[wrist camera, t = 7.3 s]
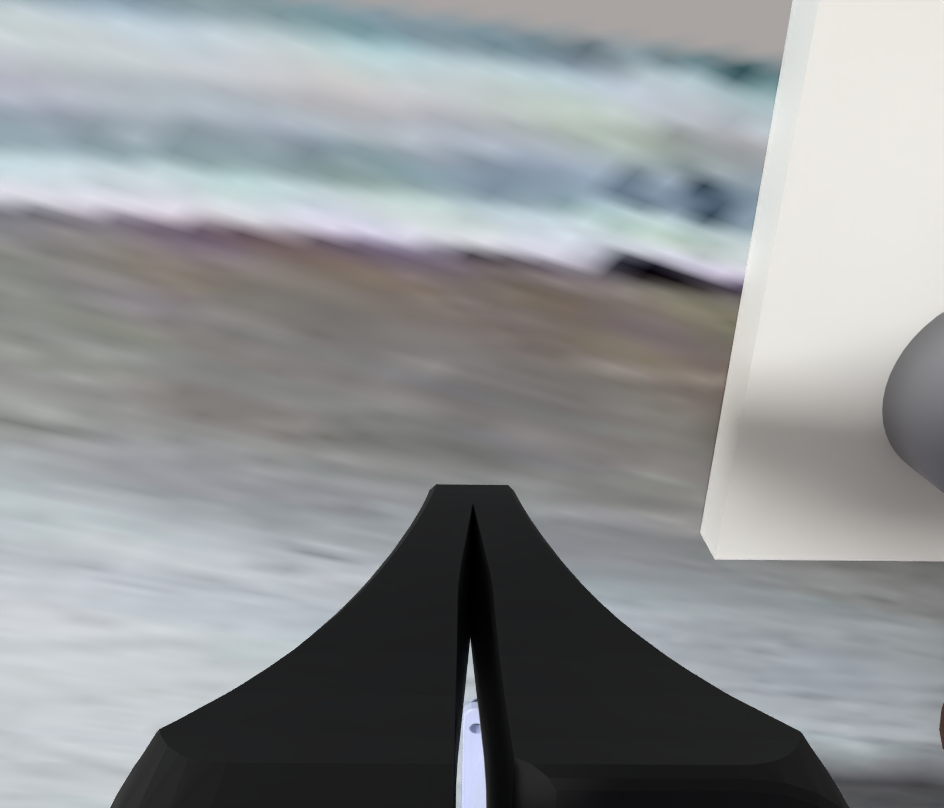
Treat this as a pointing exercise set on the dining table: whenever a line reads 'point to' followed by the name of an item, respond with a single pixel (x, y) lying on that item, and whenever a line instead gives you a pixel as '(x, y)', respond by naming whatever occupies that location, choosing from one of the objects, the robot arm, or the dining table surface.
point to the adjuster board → (842, 302)
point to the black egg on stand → (942, 726)
